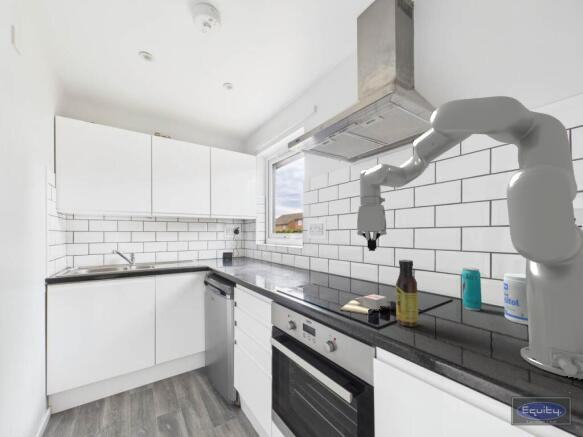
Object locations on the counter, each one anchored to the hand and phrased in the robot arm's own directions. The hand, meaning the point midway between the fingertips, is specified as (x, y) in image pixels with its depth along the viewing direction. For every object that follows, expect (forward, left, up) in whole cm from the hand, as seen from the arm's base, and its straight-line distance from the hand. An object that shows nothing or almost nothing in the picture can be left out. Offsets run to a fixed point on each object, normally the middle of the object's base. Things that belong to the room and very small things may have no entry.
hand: (372, 250), depth 95 cm
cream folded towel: (0, +5, -22) cm, 22 cm away
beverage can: (+20, -32, -22) cm, 44 cm away
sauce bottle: (-10, -13, -22) cm, 27 cm away
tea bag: (+1, -3, -19) cm, 20 cm away
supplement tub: (+12, -45, -22) cm, 51 cm away
